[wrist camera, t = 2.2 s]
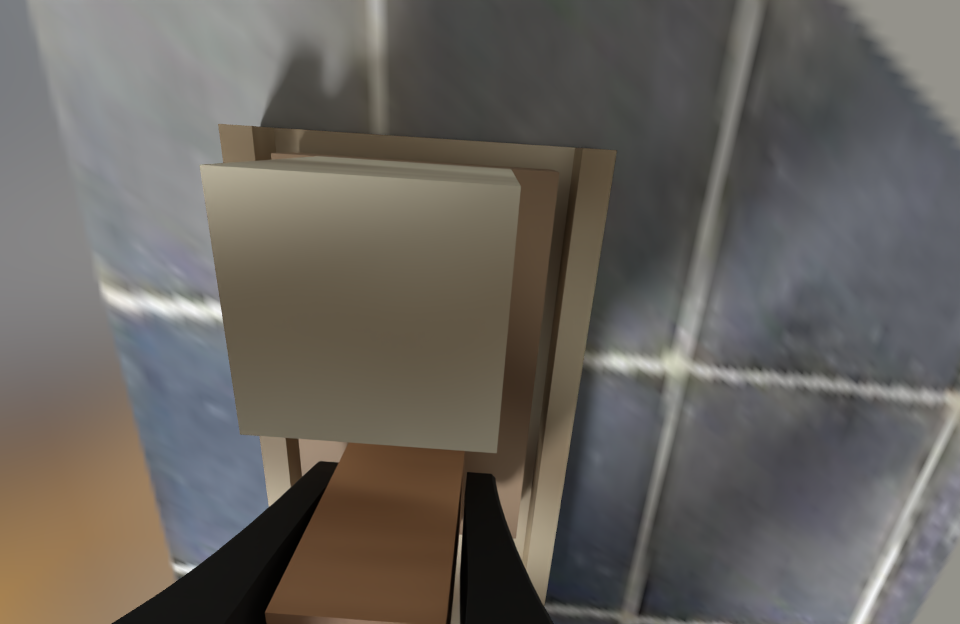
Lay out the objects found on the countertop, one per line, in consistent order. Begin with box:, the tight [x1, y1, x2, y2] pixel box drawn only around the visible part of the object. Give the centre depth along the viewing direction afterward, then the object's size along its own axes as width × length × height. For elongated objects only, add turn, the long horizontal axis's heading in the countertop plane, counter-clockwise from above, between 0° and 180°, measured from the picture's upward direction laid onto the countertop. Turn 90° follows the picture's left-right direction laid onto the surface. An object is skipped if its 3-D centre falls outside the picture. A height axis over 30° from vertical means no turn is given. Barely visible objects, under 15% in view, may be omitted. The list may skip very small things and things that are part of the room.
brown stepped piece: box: [265, 152, 560, 624], centre depth 9 cm, size 10×6×6 cm, turn 177°
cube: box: [200, 156, 521, 453], centre depth 8 cm, size 4×4×4 cm
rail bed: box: [218, 124, 617, 624], centre depth 13 cm, size 17×8×2 cm, turn 177°
